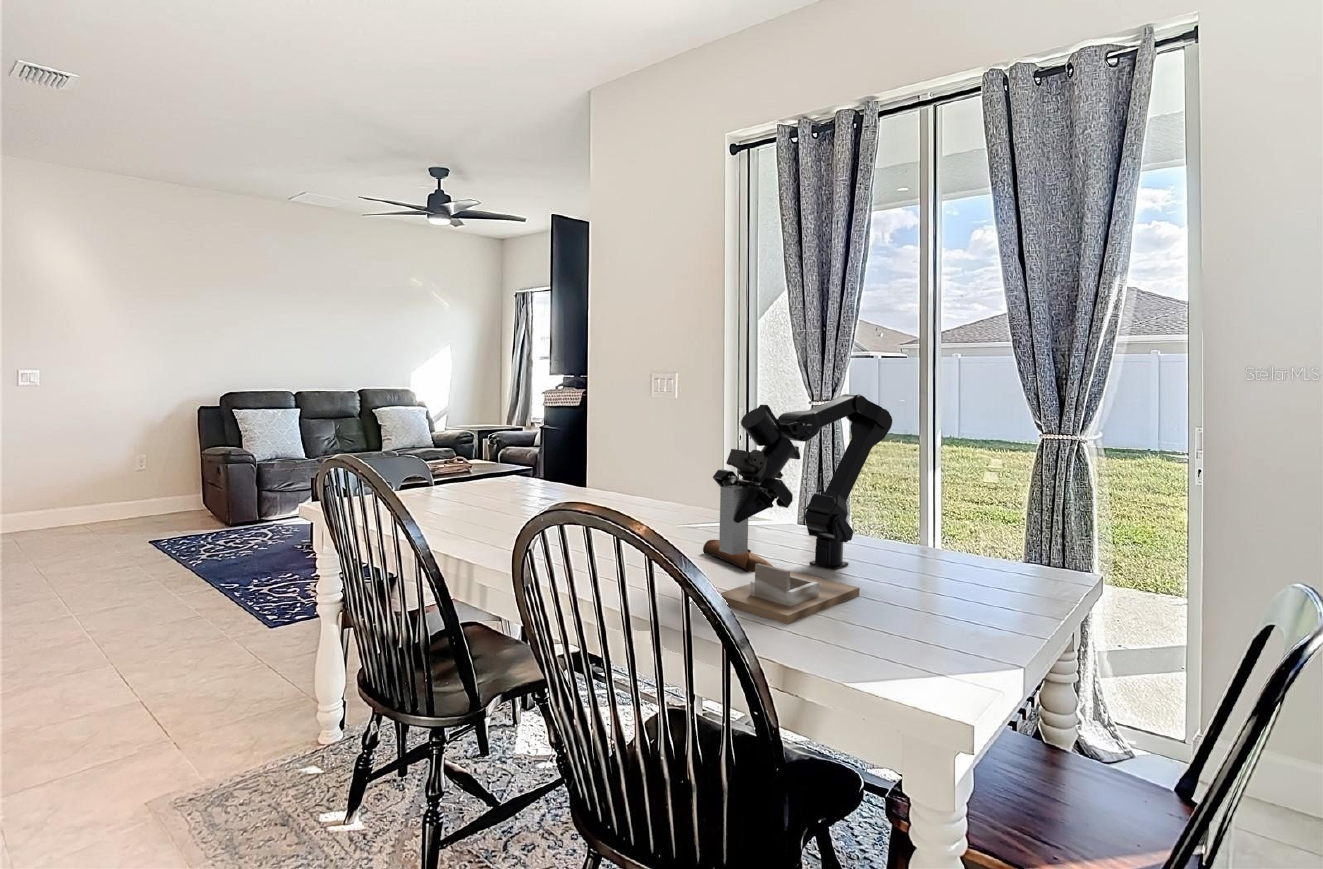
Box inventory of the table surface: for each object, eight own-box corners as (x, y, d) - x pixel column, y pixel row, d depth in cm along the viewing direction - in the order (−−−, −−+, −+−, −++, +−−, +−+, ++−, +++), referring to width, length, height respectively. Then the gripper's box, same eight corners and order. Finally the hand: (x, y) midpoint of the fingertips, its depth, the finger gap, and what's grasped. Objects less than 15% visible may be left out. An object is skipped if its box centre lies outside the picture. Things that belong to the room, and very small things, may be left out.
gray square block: (734, 548, 147) (735, 485, 146) (747, 552, 144) (749, 487, 142) (719, 550, 144) (720, 486, 143) (732, 555, 141) (733, 489, 140)
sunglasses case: (778, 567, 158) (766, 543, 156) (755, 586, 156) (742, 562, 153) (731, 549, 174) (720, 527, 172) (710, 567, 171) (698, 545, 169)
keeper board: (790, 577, 150) (791, 542, 150) (859, 595, 139) (860, 557, 138) (715, 602, 133) (716, 562, 133) (787, 624, 122) (788, 580, 121)
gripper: (720, 431, 152) (678, 487, 146) (783, 438, 137) (738, 501, 131) (747, 466, 157) (707, 521, 152) (811, 476, 142) (769, 538, 136)
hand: (728, 519), depth 143 cm, fingers closed on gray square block, 4 cm apart
